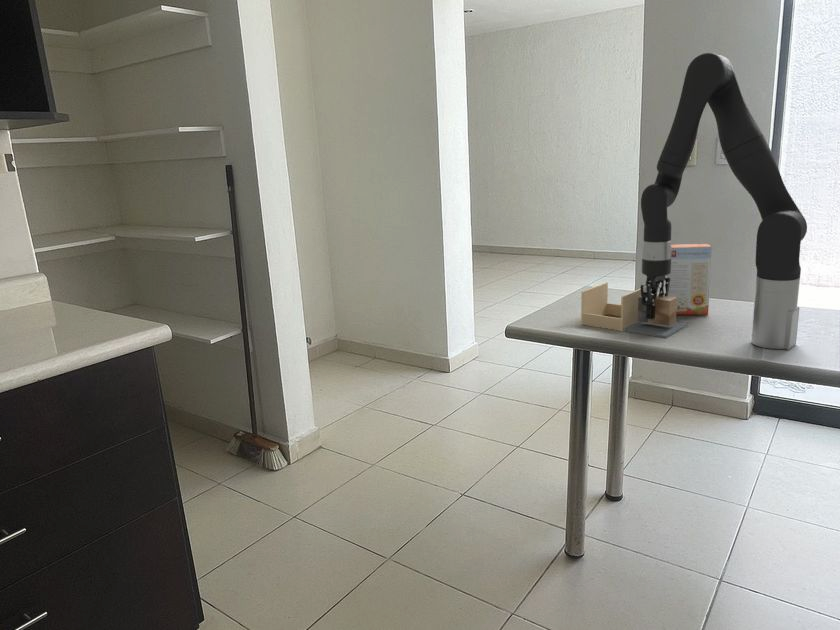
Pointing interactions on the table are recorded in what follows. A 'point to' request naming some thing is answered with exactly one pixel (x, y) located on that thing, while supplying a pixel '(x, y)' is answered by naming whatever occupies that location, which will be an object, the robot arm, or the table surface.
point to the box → (659, 310)
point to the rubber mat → (656, 329)
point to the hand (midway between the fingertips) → (654, 316)
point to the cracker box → (690, 278)
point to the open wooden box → (608, 309)
